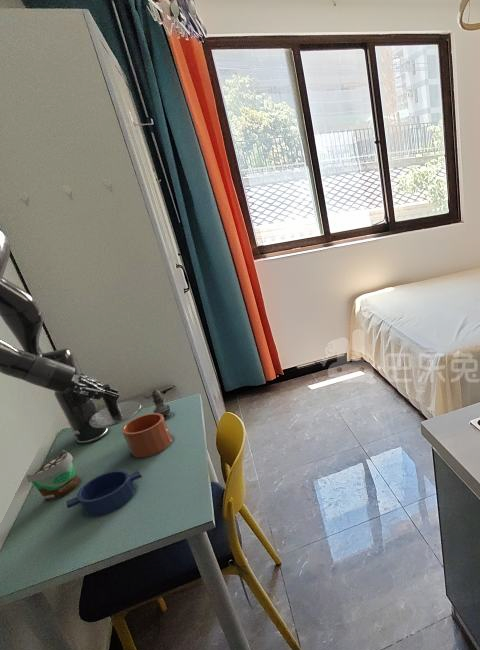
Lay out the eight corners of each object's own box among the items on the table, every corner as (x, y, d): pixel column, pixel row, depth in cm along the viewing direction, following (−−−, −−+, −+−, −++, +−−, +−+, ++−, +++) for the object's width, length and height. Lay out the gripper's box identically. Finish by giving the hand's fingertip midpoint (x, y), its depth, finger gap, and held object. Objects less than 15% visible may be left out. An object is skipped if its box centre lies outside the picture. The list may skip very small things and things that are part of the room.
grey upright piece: (153, 421, 163) (141, 393, 158) (163, 412, 168) (152, 385, 163) (167, 421, 162) (155, 392, 157) (176, 412, 167) (166, 384, 162)
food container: (58, 504, 125) (42, 477, 121) (41, 503, 126) (24, 476, 122) (93, 475, 136) (79, 449, 132) (77, 475, 137) (63, 448, 133)
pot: (130, 445, 149) (119, 423, 146) (168, 430, 155) (159, 409, 152) (134, 462, 140) (124, 438, 136) (175, 445, 146) (166, 422, 142)
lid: (89, 416, 134) (75, 387, 129) (139, 399, 140) (127, 371, 136) (92, 435, 123) (76, 404, 119) (145, 416, 130) (132, 386, 126)
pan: (72, 503, 125) (65, 489, 123) (142, 473, 134) (136, 460, 132) (73, 528, 115) (65, 514, 113) (148, 495, 124) (142, 481, 122)
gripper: (56, 369, 114) (126, 393, 125) (56, 354, 125) (121, 377, 136) (41, 395, 114) (112, 416, 125) (42, 377, 124) (108, 398, 136)
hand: (116, 396), depth 130 cm, fingers closed on lid, 3 cm apart
